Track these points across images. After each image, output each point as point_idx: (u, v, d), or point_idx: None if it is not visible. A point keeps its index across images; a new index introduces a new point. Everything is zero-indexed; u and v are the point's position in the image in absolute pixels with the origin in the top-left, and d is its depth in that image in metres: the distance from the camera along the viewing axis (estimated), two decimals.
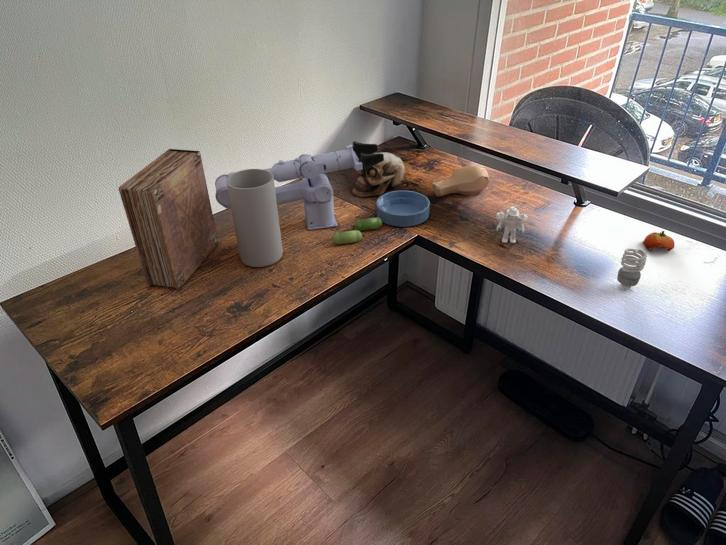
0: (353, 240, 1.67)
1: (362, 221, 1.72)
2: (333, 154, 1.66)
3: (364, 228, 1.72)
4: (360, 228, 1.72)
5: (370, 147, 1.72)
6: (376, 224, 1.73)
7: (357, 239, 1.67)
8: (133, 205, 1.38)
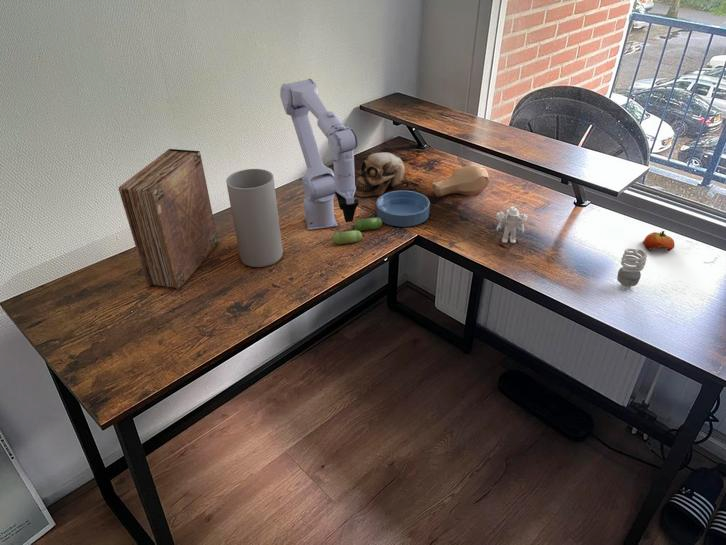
0: (353, 240, 1.67)
1: (362, 221, 1.72)
2: (346, 173, 1.53)
3: (364, 228, 1.72)
4: (360, 228, 1.72)
5: None
6: (376, 224, 1.73)
7: (357, 239, 1.67)
8: (133, 205, 1.38)
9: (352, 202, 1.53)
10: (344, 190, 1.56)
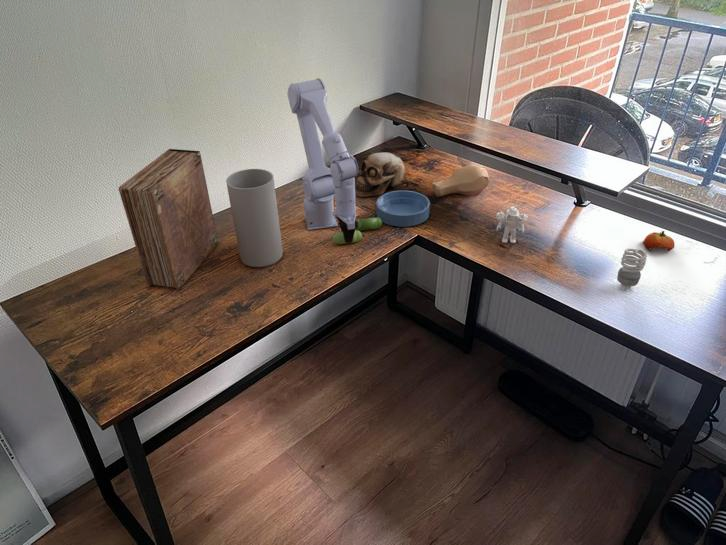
0: (353, 240, 1.67)
1: (362, 221, 1.72)
2: (347, 199, 1.57)
3: (364, 228, 1.72)
4: (360, 228, 1.72)
5: None
6: (376, 224, 1.73)
7: (357, 239, 1.67)
8: (133, 205, 1.38)
9: (353, 227, 1.58)
10: (345, 215, 1.60)
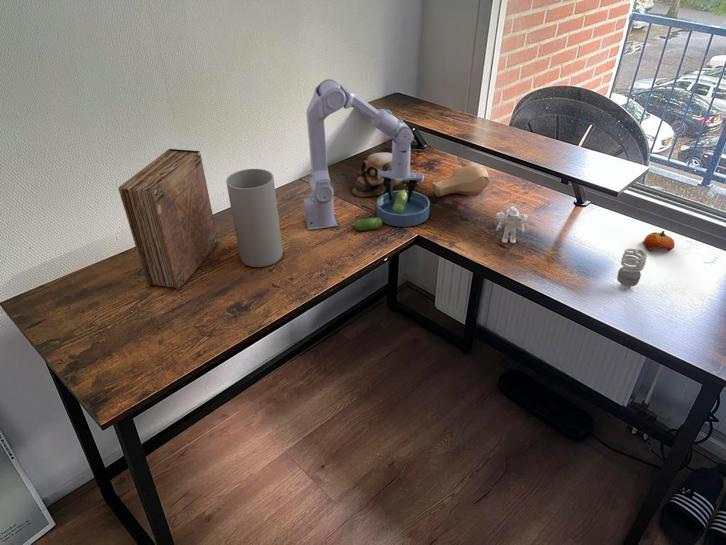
0: (406, 199, 1.83)
1: (362, 221, 1.72)
2: None
3: (364, 228, 1.72)
4: (360, 228, 1.72)
5: None
6: (376, 224, 1.73)
7: None
8: (133, 205, 1.38)
9: (423, 179, 1.77)
10: (408, 175, 1.76)
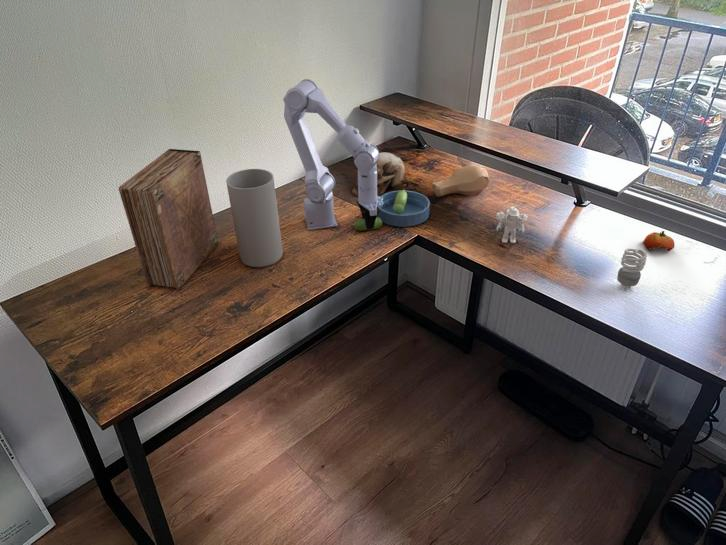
0: (406, 199, 1.83)
1: (362, 221, 1.72)
2: (375, 185, 1.64)
3: (364, 228, 1.72)
4: (360, 228, 1.72)
5: None
6: (376, 224, 1.73)
7: None
8: (133, 205, 1.38)
9: None
10: None
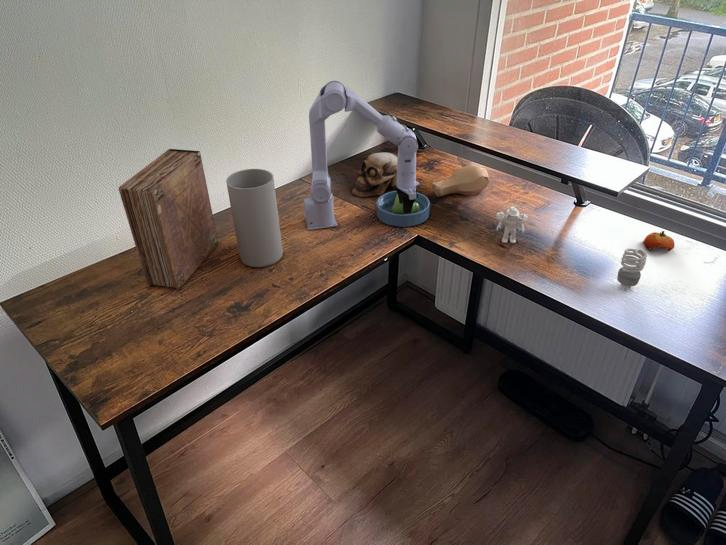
0: None
1: (400, 205, 1.76)
2: (415, 168, 1.69)
3: (402, 212, 1.76)
4: (398, 212, 1.76)
5: None
6: (413, 208, 1.76)
7: None
8: (133, 205, 1.38)
9: None
10: None
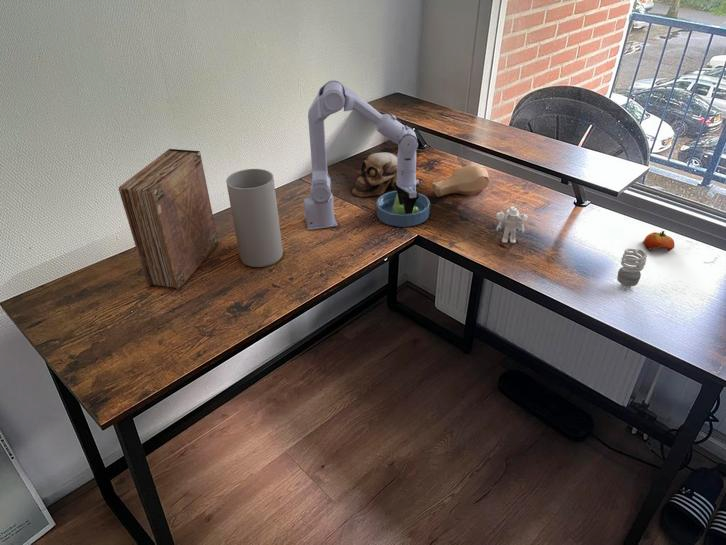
0: None
1: (399, 209, 1.77)
2: (415, 167, 1.68)
3: None
4: None
5: None
6: (413, 211, 1.77)
7: None
8: (133, 205, 1.38)
9: None
10: None
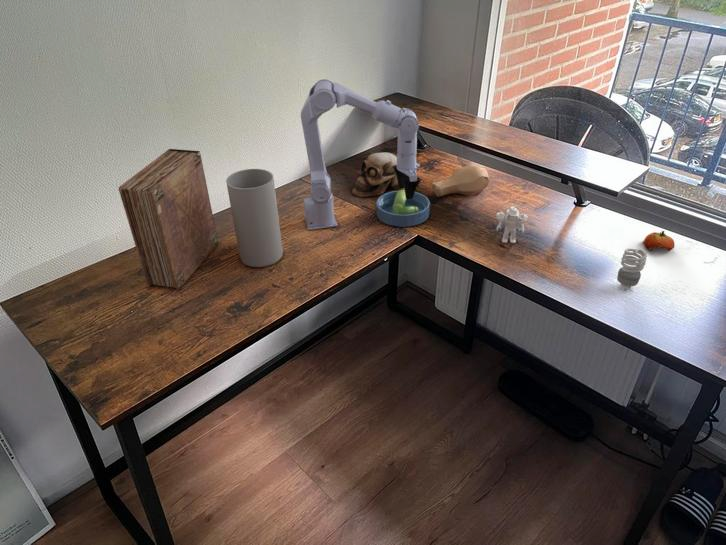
0: None
1: (399, 209, 1.77)
2: (416, 150, 1.65)
3: None
4: None
5: None
6: (413, 212, 1.77)
7: None
8: (133, 205, 1.38)
9: None
10: None
